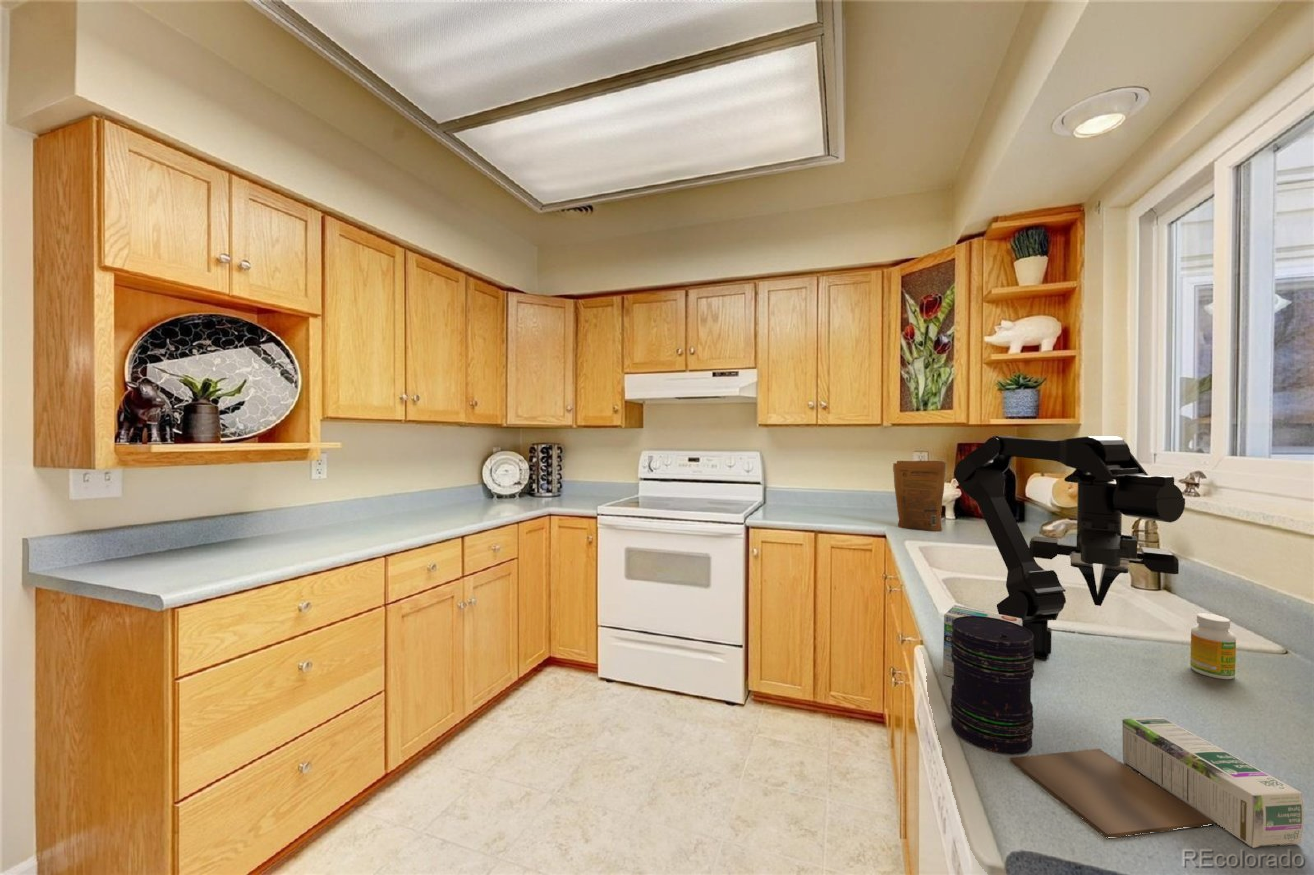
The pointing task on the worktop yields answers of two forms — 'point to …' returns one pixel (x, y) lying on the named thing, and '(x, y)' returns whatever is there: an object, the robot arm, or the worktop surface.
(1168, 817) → the plate
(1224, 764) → the syrup box
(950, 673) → the light bulb box
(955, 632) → the black ridged cylinder
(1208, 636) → the supplement bottle
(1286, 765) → the worktop surface
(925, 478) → the pancake mix bag
